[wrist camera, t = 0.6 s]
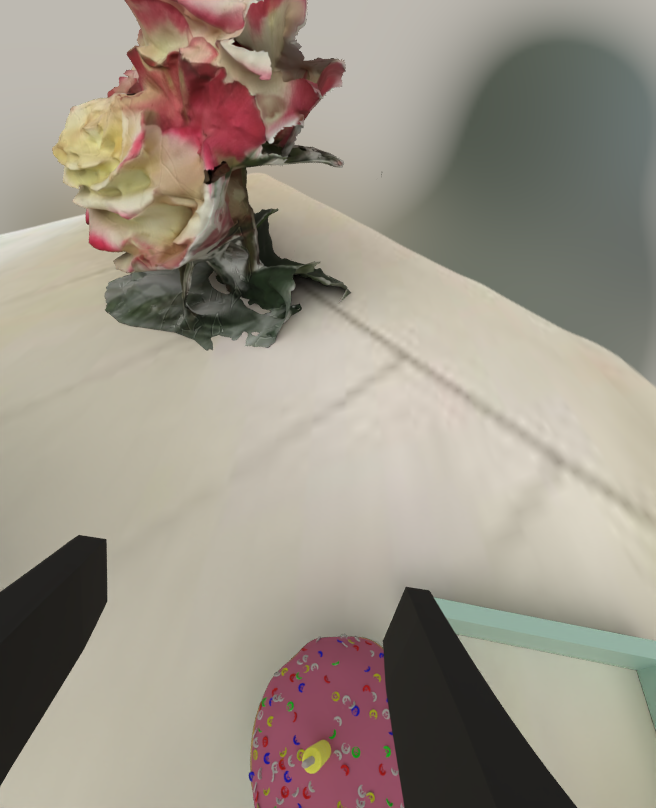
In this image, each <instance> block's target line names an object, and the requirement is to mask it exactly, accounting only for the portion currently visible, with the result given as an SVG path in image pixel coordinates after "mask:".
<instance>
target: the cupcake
mask: <svg viewBox="0 0 656 808" xmlns="http://www.w3.org/2000/svg"><path fill="white" fill-rule="evenodd" d="M342 636H344V637H342ZM250 770H251V772H250V773H249V779H250V781H251V785H252V790H253V798H254V805H255V808H404V802H403V796H402V790H401V783H400V777H399V771H398V764H397V758H396V752H395V746H394V739H393V733H392V727H391V720H390V714H389V707H388V701H387V694H386V685H385V670H384V649H383V648H382V647H381V646H380V645H379V644H377V643H376V642H374V641H372V640H370V639H367V638H362V637H356V636H355V637H347V635H345V634H342V635H341V637H324V638H321V637H319V638H317V639H314V640H312V641H310V642H309V643H307V644H306V645H305V646H304V647H303V648H302V649H301V650H300V651H299V652H298V653H297V654H296V655H295V656H294V657H293V658H292V659H291V660H290V661H289V662H288V663H287V664H285V665H284V666H283V667H282V668H281V669H280V670H279V671H278V672H276V673H275V674H274V676H273V678H272V679H271V681H270V683H269V685H268V687H267V689H266V691H265V694H264V696H263V699H262V701H261V703H260V706H259V708H258V711H257V715H256V718H255V723H254V727H253V733H252V741H251V757H250Z"/></svg>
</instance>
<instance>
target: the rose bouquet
mask: <svg viewBox="0 0 656 808" xmlns="http://www.w3.org/2000/svg"><path fill="white" fill-rule="evenodd" d="M125 2H126V3H127V4H128V6H129V7H130V9H131V10H132V12H133V14H134V15H135V17H136V19H137V21H138V23H139V25H140V28H141V29H140V30H139V34H138V39H137V41H138V44H139V46H134V47H133V48H132V49H130V50H129V51H128V52H127V56H128V57H129V59H130V60H131V62H132V64H133V67H132V69H131V70H126V72H125V73H124V74H125V75H127V76H128V78H127V77H120V78H119V86H118V87H114V88H113V89H112V90H111V91H109V92H108V98H99V99H94V100H91V101H88V102H87V103H83V104H80V105H78V106H73V107H72V108H71V109H70V114H69V116H68V118H67V120H66V126H65V129H64V130H63V131H62V133H61V134H60V136H59V141H58V143H57V144H56V145H55V146H54V147H53V149H52V151H53V154H54V156H55V157H56V158H57V159H58V162H59V163H61V164H62V165H64V166H65V167H64V177H63V183H65V184H67V185H68V186H70V187H76V188H77V189H78V187H80V189H79V193H78V194H77V195H76V196H75V198H74V199H73V203H75V204H77V205H79V206H81V207H84V208H86V209H87V210H86V223H87V224H88V225H89V230H90V231H89V243H90V244H91V245H92V246H93V247H94V248H96V249H98V250H102V251H108V252H123V251H125V252H126V253H125V254H123V255H122V256H120V257H118V258H117V259H115V260H114V261H113V262H114V264H115V266H116V269H119V270H121V271H123V272H126V273H131V274H130V275H127V276H124V277H122V278H118V279H115V280H113V281H111V282H109V283H108V286H107V287H106V289H107V291H106V292H105V299H106V303H107V307H106V309H105V311H106V312H107V313H108V312H110V313H109V314H110V315H112V316H113V317H114V318H115V319H117V321H118V322H121V323H124V324H127V325H130V326H137V327H144V328H151V329H157V330H164V331H171V332H176V333H178V334H181V335H183V336H186V337H188V338H191V339H194V340H195V341H196V342H197V343H199V344H200V345H201V346H202V347H203V348H204V349H205V350H209V349H211V350H213V343H212V341H211V337H214V336H217V335H221V336H224V337H230V338H232V340H237V339H238V338H239V337H240V336H241V335H242V333H243V332H244V331H245V332H247V333H248V337H247V340H246V345H245V346H253V347H270V345H272V344H273V343H275V339H276V337H277V333H278V332H279V330H280V328H281V327H282V325H283V323H284V322H286V321H287V320H288V319H289V318H290V316H291V315H293V314H295V313H297V312H299V311H300V310H301V309H302V308H301V305H300V304H298V305H292V306H290V304H291V291H293V290H294V288H295V283H294V282H295V281H294V280H293V279H292V278H293V275H299V276H300V277H304V278H308V277H310V278H311V279H313V280H314V281H318V282H320V283H322V284H323V285H331V286H339V287H342V288H343V289H345V290H346V292H345V293H344V295H343V296H342V298H341V300H340V301H339V302H338V304H339V303H340V302H341V301H342V300H343V299H344V298H345V297H346V296H347V295H348V294H349V293H351V292H350V291H349V290H348V289H347V287H346V285H344V284H343V282H340V281H338V280H336V279H334V278H332V277H330V276H329V277H330V278H329V277H328V275H327V276H326V275H325V274H324V273H323V271H322V270H321V268H318V269H314V266H316V265H317V264H318V263H320V262H311V263H308V264H301V263H297V262H294V261H290V260H288V259H285V258H284V259H281V258H280V257H278V256H277V255H276V254H275V253H274V251H273V247H272V240H271V237H270V235H269V223H268V217H269V215H271V214H272V213H275V212H277V211H278V208H277V209H268V210H263V209H262V210H261V211H260V212H259V213H256V214H255V213H254V212H253V209H252V208H251V206H250V205H249V202H248V193H247V188H246V183H247V171H246V167H254V166H262V165H285V164H296V163H313V162H314V163H315V162H316V163H324V164H328V165H330V166H333V167H339V168H340V167H343V165H344V162H343V161H342V160H341V159H339V158H337V157H336V156H334V155H332V154H330V153H327V152H324V151H321V150H318V149H316V148H314V147H304V146H299V145H294V141H296V136H297V135H298V134H299V133H300V132H301V128H303V127H304V120H305V118H306V117H307V116H308V114H309V113H310V111H311V110H312V109H313V108H314V107H315V106H316V105H317V103H318V102H319V101H320V100H321V99H323V98H324V96H326V92H328V91H330V92H331V91H333V89H334V88H335V87H342V80H341V77H342V75H343V72H345V62H344V60H343V61H342V60H341V61H340V60H339V59H334V58H331V59H321V58H317V59H314V60H310V61H303V60H304V56H303V54H302V52H301V51H299V49H300V48H301V46H300V44H299V43H297V40H295V36H296V35H298V32H299V30H300V29H301V28H302V27H303V26H305V24H306V20H307V19H306V14H305V13H307V4H308V2H307V0H125ZM214 270H215V272H216V273H217V276H216V279H217V280H218V282H220V283H222V284H225V285H226V288H227V291H228V292H230V294H223V293H221V292H219V291H217V290H216V289H214V288H213V287H212V286H211V284H210V282H209V279H208V278H209V276H210V274H211V273H212V272H213V271H214ZM240 297H242V298H245V299H249V301H248V304H249V305H252V304H254V303H255V304H258V305H259V306H260V307H261V308H262V309H266V310H270V311H271V312H269V313H265V314H259V313H257V312H255V311H253V310H251V309H249V308H247V307H246V306H245V305H244V303H243V301H242V300H241V299H240ZM299 308H300V310H298V309H299ZM251 332H259V334H258V336H253V335H252V334H251Z"/></svg>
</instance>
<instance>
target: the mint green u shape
mask: <svg viewBox="0 0 656 808" xmlns="http://www.w3.org/2000/svg"><path fill="white" fill-rule="evenodd" d="M434 599H435V600H436V602H437V604H438V605H439V607H440V609H441V610H442V612H443V614H444V615H445V617H446V618H447V620H448V622H449V623H450V625H451V627H452V628H453V630H454V632H455V633H456V634H459V635H464V636H469V637H474V638H479V639H484V640H489V641H494V642H499V643H504V644H509V645H514V646H519V647H524V648H529V649H534V650H539V651H543V652H548V653H553V654H558V655H563V656H568V657H573V658H578V659H583V660H588V661H593V662H598V663H603V664H608V665H613V666H618V667H623V668H628V669H633V670H637V673H638V676H639V679H640V682H641V685H642V689H643V692H644V695H645V698H646V701H647V704H648V708H649V711H650V714H651V717H652V720H653V724H654V727H655V730H656V641H653V640H648V639H643V638H638V637H633V636H628V635H623V634H618V633H612V632H607V631H602V630H597V629H592V628H587V627H582V626H577V625H572V624H567V623H561V622H556V621H551V620H546V619H541V618H536V617H531V616H526V615H521V614H516V613H510V612H505V611H500V610H495V609H490V608H485V607H480V606H475V605H470V604H465V603H460V602H454V601H449V600H444V599H439V598H434Z"/></svg>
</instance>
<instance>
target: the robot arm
mask: <svg viewBox="0 0 656 808" xmlns="http://www.w3.org/2000/svg"><path fill="white" fill-rule="evenodd" d="M106 603H107V543H106V539H101V538H95V537H88V536H82V535H78V536H77V537H75V538H74V539H72V540H71V541H69V542H68V543H67V544H65V545H64V546H63V547H61V548H60V549H59V550H57V551H56V552H54V553H53V554H52V555H50V556H49V557H48V558H46V559H45V560H44V561H42V562H41V563H40V564H38V565H37V566H35V567H34V568H33V569H31V570H30V571H29V572H27V573H26V574H24V575H23V576H22V577H20V578H19V579H18V580H16V581H15V582H13V583H12V584H11V585H9V586H8V587H6V588H5V589H4V590H2V591H1V592H0V786H1V784H2V782H3V781H4V779H5V777H6V775H7V774H8V772H9V770H10V769H11V767H12V765H13V764H14V762H15V760H16V759H17V757H18V756H19V754H20V752H21V751H22V749H23V748H24V746H25V744H26V743H27V741H28V739H29V738H30V736H31V735H32V733H33V731H34V730H35V728H36V726H37V725H38V723H39V722H40V720H41V718H42V717H43V715H44V714H45V712H46V710H47V709H48V707H49V705H50V704H51V702H52V701H53V699H54V697H55V696H56V694H57V692H58V691H59V689H60V688H61V686H62V684H63V683H64V681H65V679H66V678H67V676H68V675H69V673H70V671H71V670H72V668H73V666H74V665H75V663H76V661H77V660H78V658H79V656H80V655H81V653H82V651H83V650H84V648H85V646H86V644H87V642H88V640H89V638H90V636H91V634H92V632H93V630H94V628H95V626H96V624H97V622H98V620H99V617H100V615H101V613H102V611H103V609H104V607H105V605H106ZM383 649H384V670H385V685H386V694H387V701H388V707H389V714H390V720H391V727H392V733H393V739H394V746H395V752H396V758H397V764H398V771H399V777H400V783H401V790H402V796H403V802H404V808H577V807H576V805H575V804H574V803H573V802H572V800H571V799H570V798H569V796H568V795H567V794H566V793H565V791H564V790H563V789H562V788H561V786H560V785H559V784H558V782H557V781H556V780H555V779H554V777H553V776H552V775H551V773H550V772H549V771H548V770H547V768H546V767H545V766H544V764H543V763H542V762H541V760H540V759H539V758H538V756H537V755H536V753H535V752H534V751H533V749H532V748H531V747H530V745H529V744H528V742H527V741H526V740H525V738H524V737H523V735H522V734H521V732H520V731H519V730H518V728H517V727H516V725H515V724H514V723H513V721H512V720H511V718H510V717H509V715H508V714H507V712H506V711H505V710H504V708H503V707H502V705H501V704H500V702H499V701H498V699H497V698H496V696H495V695H494V693H493V692H492V690H491V689H490V687H489V685H488V684H487V682H486V681H485V679H484V678H483V676H482V675H481V673H480V672H479V670H478V669H477V667H476V665H475V664H474V662H473V661H472V659H471V658H470V656H469V654H468V653H467V651H466V650H465V648H464V646H463V645H462V643H461V641H460V640H459V638H458V637H457V635H456V633H455V632H454V630H453V628H452V627H451V625H450V623H449V622H448V620H447V618H446V617H445V615H444V614H443V612H442V610H441V609H440V607H439V605H438V604H437V602H436V600H435V599H434V597H433V596H432V594H431V592H430V591H429V590H422V589H416V588H410V587H406V588H405V590H404V593H403V595H402V597H401V600H400V602H399V604H398V607H397V609H396V612H395V614H394V616H393V619H392V621H391V623H390V626H389V628H388V630H387V633H386V635H385V638H384V640H383Z"/></svg>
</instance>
